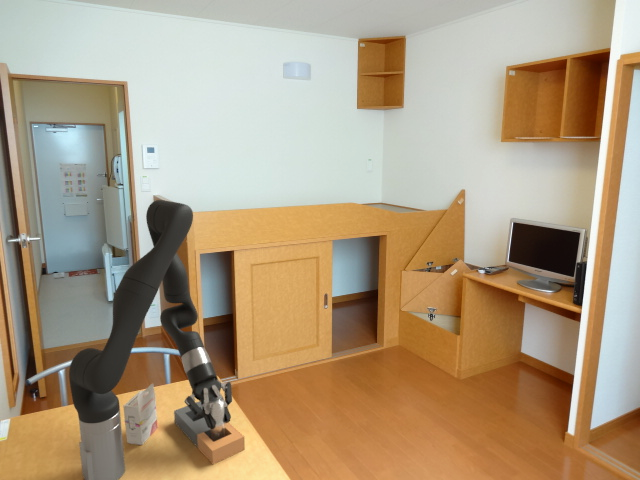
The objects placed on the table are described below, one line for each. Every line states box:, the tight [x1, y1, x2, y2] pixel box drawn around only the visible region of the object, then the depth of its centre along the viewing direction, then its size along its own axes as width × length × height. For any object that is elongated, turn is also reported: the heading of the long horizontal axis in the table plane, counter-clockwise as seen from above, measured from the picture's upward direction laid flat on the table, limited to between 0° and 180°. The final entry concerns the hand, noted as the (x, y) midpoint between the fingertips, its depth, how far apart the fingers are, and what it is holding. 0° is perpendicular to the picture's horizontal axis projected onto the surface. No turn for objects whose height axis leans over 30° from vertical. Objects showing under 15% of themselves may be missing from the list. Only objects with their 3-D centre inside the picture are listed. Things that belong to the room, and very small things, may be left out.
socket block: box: [173, 400, 246, 465], centre depth 135 cm, size 10×24×4 cm, turn 40°
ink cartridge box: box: [123, 383, 158, 446], centre depth 134 cm, size 9×5×15 cm, turn 168°
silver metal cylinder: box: [209, 397, 225, 442], centre depth 129 cm, size 4×4×12 cm
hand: (220, 424), depth 128 cm, fingers closed on silver metal cylinder, 4 cm apart
